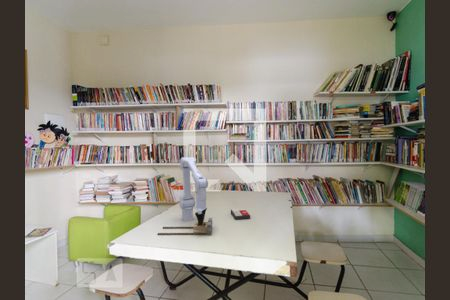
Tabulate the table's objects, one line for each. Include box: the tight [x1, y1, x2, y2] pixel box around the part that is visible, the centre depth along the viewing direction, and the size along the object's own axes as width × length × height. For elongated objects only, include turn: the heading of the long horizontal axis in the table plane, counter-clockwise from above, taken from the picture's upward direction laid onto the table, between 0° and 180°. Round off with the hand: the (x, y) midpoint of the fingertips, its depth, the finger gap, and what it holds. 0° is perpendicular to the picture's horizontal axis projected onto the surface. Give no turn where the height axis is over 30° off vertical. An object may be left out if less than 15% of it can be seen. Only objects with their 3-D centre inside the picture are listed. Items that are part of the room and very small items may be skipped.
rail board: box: [157, 217, 213, 237], centre depth 121 cm, size 12×30×7 cm, turn 90°
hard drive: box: [230, 208, 251, 221], centre depth 152 cm, size 11×4×15 cm
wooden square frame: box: [192, 221, 208, 233], centre depth 121 cm, size 8×8×4 cm
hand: (201, 222), depth 121 cm, fingers open, 7 cm apart
